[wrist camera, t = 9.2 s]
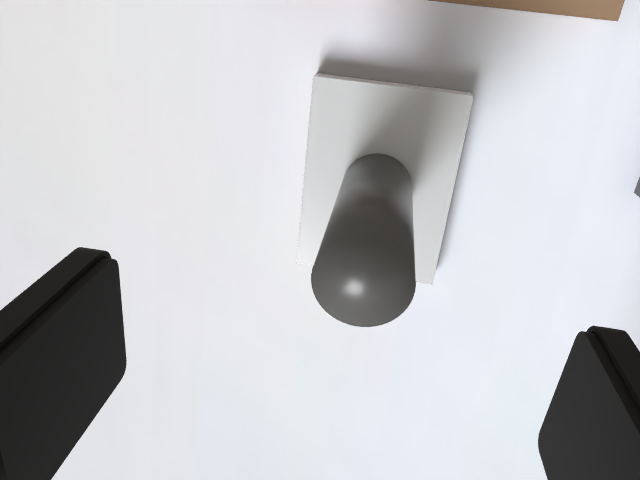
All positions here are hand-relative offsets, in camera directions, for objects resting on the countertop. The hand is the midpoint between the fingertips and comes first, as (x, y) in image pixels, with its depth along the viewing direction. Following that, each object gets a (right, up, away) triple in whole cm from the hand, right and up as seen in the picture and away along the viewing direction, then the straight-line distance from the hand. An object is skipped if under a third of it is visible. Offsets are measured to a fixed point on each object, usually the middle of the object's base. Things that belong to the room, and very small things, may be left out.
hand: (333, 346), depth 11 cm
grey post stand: (+2, +5, +11) cm, 13 cm away
